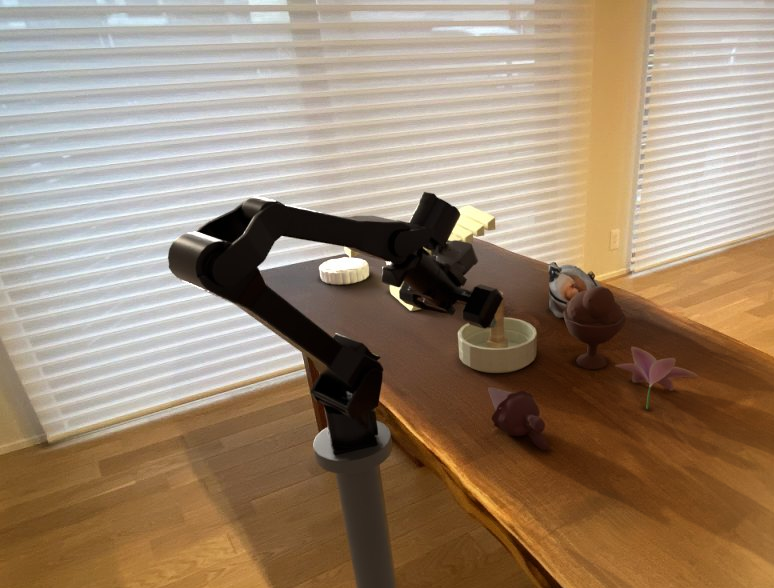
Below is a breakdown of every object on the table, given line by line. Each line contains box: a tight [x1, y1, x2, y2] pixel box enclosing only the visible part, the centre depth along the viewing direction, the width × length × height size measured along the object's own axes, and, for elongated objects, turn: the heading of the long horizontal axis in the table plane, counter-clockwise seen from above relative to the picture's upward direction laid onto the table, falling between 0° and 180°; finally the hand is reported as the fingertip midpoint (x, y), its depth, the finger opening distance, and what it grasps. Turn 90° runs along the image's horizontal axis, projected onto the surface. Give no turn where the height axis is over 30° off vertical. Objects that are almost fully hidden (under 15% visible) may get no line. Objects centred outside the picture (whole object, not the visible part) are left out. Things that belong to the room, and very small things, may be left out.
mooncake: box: [318, 256, 370, 286], centre depth 154 cm, size 12×12×4 cm
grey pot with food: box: [547, 261, 602, 319], centre depth 129 cm, size 15×12×14 cm
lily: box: [614, 346, 699, 410], centre depth 100 cm, size 12×12×10 cm
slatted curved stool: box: [343, 205, 496, 312], centre depth 140 cm, size 30×16×18 cm, turn 120°
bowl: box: [457, 316, 538, 374], centre depth 114 cm, size 14×14×5 cm
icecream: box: [487, 386, 549, 451], centre depth 92 cm, size 7×7×15 cm
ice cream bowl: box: [563, 285, 627, 370], centre depth 110 cm, size 11×11×15 cm
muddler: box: [487, 290, 508, 348], centre depth 112 cm, size 4×4×12 cm
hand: (473, 318), depth 106 cm, fingers open, 9 cm apart
